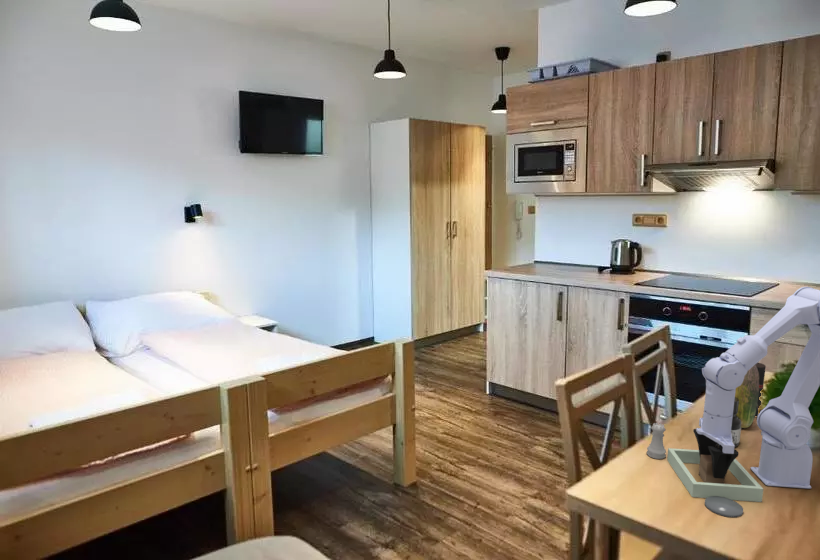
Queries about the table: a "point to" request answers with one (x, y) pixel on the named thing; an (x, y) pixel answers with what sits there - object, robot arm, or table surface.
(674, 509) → the table surface
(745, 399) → the vegetable
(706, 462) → the block
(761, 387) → the deodorant
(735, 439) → the ink bottle
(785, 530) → the table surface
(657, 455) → the rook chess piece
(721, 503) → the coaster
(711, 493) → the green rectangular frame
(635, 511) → the table surface
